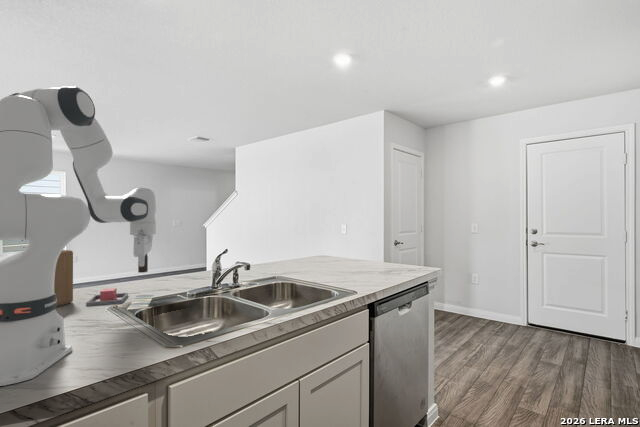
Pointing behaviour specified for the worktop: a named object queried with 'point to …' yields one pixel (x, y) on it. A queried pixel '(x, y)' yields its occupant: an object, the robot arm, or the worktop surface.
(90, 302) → the dice tray
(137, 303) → the board
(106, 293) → the red cube
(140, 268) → the pawn
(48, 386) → the worktop surface
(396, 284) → the worktop surface
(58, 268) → the wooden block
